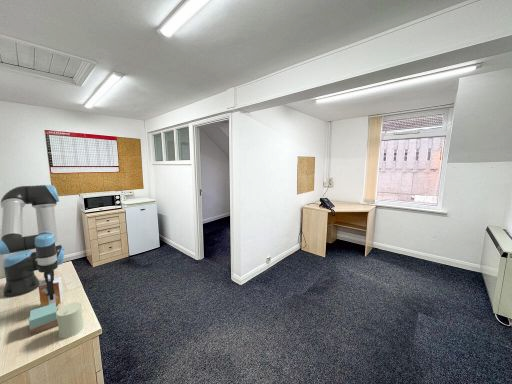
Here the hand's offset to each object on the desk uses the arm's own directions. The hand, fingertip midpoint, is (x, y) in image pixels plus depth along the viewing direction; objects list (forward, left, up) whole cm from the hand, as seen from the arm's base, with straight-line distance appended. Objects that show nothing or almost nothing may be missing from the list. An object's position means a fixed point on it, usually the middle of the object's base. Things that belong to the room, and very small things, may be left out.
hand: (52, 300), depth 117 cm
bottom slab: (+17, -3, -3) cm, 17 cm away
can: (+30, +6, -3) cm, 30 cm away
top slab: (+17, -3, +1) cm, 17 cm away
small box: (0, 0, -1) cm, 1 cm away
